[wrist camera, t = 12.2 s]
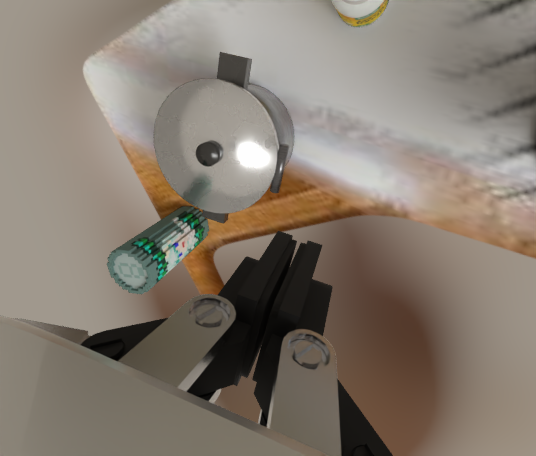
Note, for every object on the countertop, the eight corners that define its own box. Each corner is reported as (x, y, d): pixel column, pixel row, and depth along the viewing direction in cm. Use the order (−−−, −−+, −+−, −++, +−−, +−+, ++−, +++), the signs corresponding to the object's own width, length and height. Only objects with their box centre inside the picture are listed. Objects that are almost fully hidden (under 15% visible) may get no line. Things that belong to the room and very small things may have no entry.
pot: (311, 71, 37) (294, 69, 29) (278, 212, 45) (258, 239, 38) (211, 49, 39) (170, 40, 31) (197, 187, 48) (163, 207, 40)
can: (211, 241, 51) (155, 295, 38) (179, 239, 53) (115, 290, 40) (205, 206, 49) (143, 252, 36) (171, 206, 51) (101, 248, 38)
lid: (301, 98, 29) (296, 100, 27) (271, 226, 36) (265, 236, 34) (160, 64, 32) (146, 63, 29) (157, 191, 38) (144, 198, 36)
